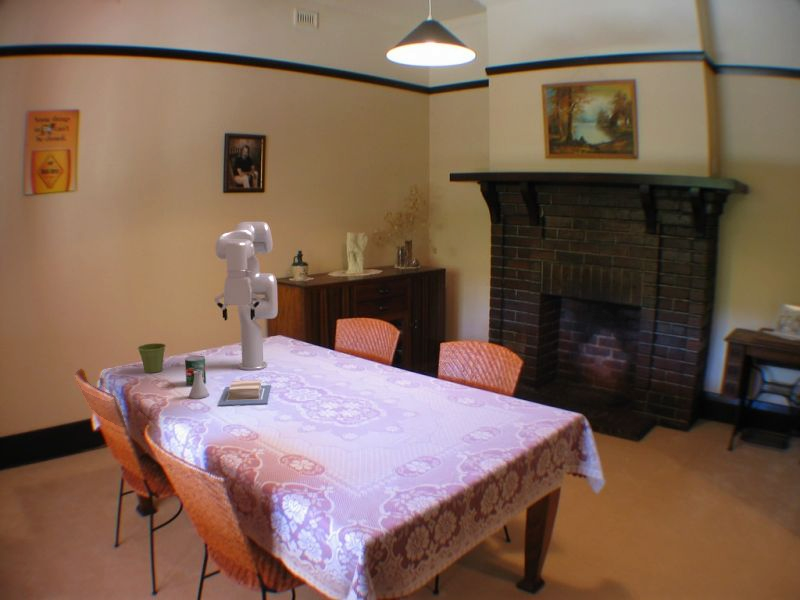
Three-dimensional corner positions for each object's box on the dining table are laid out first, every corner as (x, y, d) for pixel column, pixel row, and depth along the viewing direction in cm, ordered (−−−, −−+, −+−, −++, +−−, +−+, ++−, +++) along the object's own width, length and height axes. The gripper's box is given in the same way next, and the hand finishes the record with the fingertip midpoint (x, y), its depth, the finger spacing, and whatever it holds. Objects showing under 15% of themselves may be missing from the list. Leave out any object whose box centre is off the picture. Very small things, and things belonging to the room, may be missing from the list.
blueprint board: (225, 388, 262) (225, 386, 262) (270, 386, 265) (270, 384, 264) (218, 406, 241) (217, 404, 241) (267, 404, 243) (267, 402, 243)
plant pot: (140, 368, 290) (138, 344, 288) (168, 366, 293) (166, 342, 291) (137, 376, 279) (136, 350, 277) (167, 373, 282) (165, 348, 280)
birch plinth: (232, 390, 257) (232, 381, 257) (261, 389, 259) (260, 380, 258) (229, 399, 246) (229, 389, 246) (258, 398, 248) (258, 388, 247)
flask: (185, 397, 251) (183, 372, 249) (199, 392, 257) (197, 368, 255) (199, 400, 247) (197, 375, 246) (212, 395, 254) (211, 370, 252)
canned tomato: (182, 385, 266) (180, 359, 264) (194, 380, 273) (192, 354, 271) (198, 387, 263) (197, 361, 262) (210, 381, 271) (208, 356, 269)
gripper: (261, 272, 246) (263, 317, 249) (214, 273, 244) (216, 318, 247) (260, 275, 239) (261, 321, 242) (211, 276, 236) (214, 322, 239)
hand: (239, 319), depth 244 cm, fingers open, 9 cm apart
